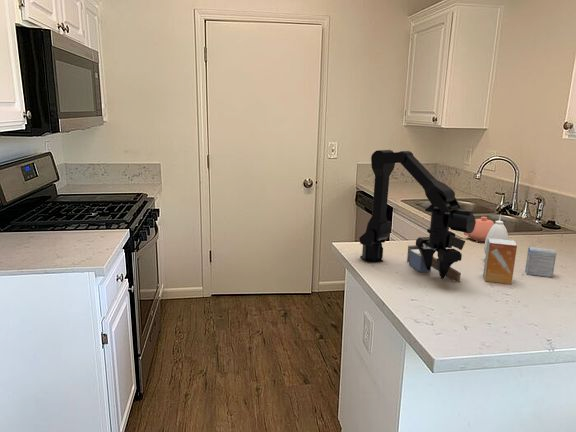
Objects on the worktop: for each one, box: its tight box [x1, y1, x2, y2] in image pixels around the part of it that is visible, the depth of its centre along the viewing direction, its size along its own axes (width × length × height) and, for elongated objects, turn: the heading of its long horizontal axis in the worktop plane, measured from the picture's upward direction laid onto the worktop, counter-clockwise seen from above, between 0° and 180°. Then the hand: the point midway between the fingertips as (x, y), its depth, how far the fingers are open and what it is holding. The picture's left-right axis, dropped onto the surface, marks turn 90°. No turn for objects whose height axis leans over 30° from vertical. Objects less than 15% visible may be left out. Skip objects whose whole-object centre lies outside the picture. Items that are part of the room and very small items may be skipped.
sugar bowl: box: [463, 216, 495, 243], centre depth 199 cm, size 12×14×10 cm
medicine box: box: [525, 246, 557, 278], centre depth 157 cm, size 8×4×9 cm, turn 71°
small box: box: [482, 238, 518, 285], centre depth 150 cm, size 8×6×13 cm
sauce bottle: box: [484, 213, 510, 255], centre depth 168 cm, size 8×8×18 cm
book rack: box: [406, 244, 462, 283], centre depth 158 cm, size 8×22×6 cm, turn 12°
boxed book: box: [408, 249, 432, 273], centre depth 161 cm, size 4×8×6 cm, turn 12°
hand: (435, 274), depth 151 cm, fingers open, 8 cm apart
